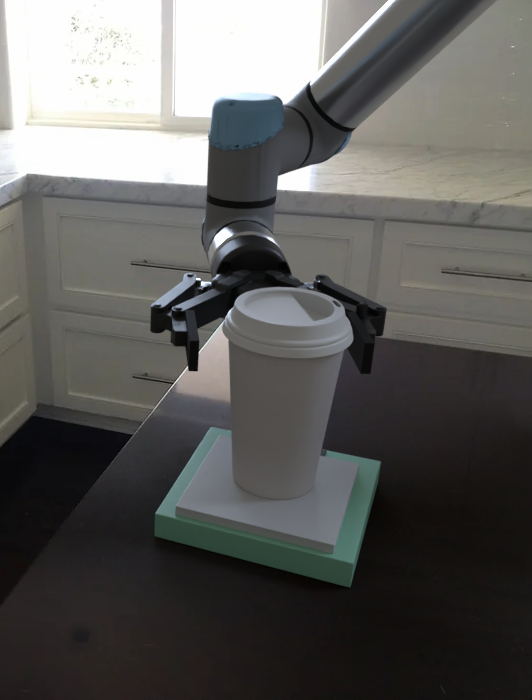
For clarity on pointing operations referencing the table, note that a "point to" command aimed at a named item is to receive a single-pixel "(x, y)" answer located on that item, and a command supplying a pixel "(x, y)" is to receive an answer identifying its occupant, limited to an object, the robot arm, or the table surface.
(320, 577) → the kitchen scale
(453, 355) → the table surface
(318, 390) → the coffee cup
